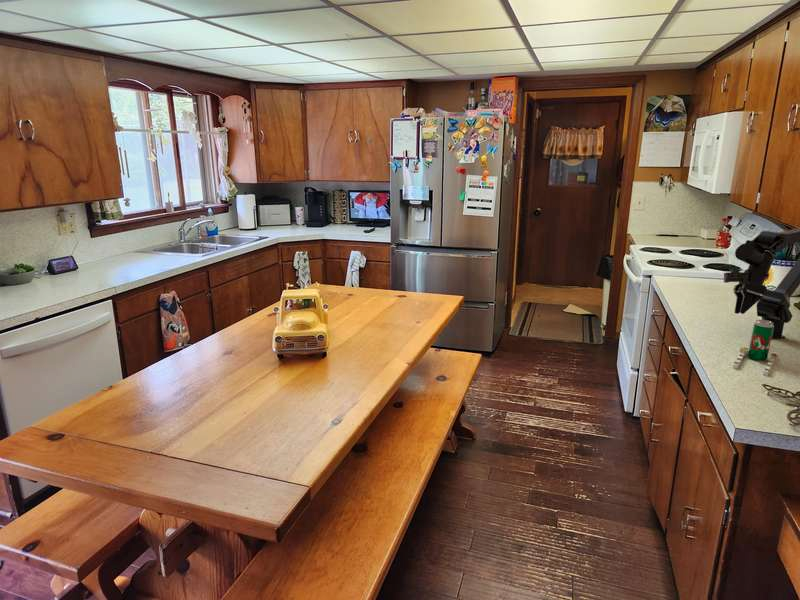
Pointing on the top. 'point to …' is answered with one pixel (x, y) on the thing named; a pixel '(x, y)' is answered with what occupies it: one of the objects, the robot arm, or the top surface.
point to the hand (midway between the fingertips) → (738, 313)
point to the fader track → (744, 356)
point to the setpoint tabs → (773, 356)
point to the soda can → (761, 340)
